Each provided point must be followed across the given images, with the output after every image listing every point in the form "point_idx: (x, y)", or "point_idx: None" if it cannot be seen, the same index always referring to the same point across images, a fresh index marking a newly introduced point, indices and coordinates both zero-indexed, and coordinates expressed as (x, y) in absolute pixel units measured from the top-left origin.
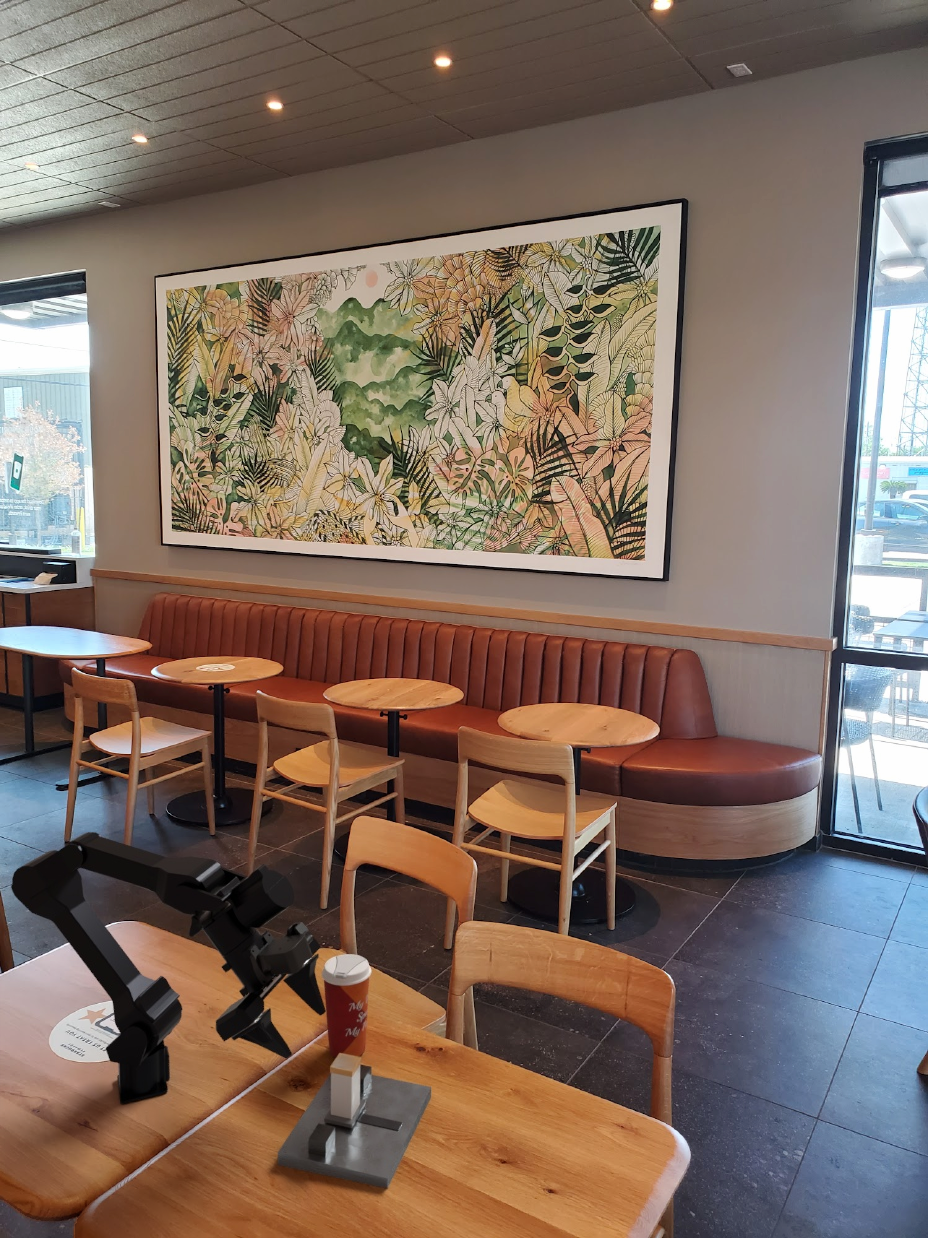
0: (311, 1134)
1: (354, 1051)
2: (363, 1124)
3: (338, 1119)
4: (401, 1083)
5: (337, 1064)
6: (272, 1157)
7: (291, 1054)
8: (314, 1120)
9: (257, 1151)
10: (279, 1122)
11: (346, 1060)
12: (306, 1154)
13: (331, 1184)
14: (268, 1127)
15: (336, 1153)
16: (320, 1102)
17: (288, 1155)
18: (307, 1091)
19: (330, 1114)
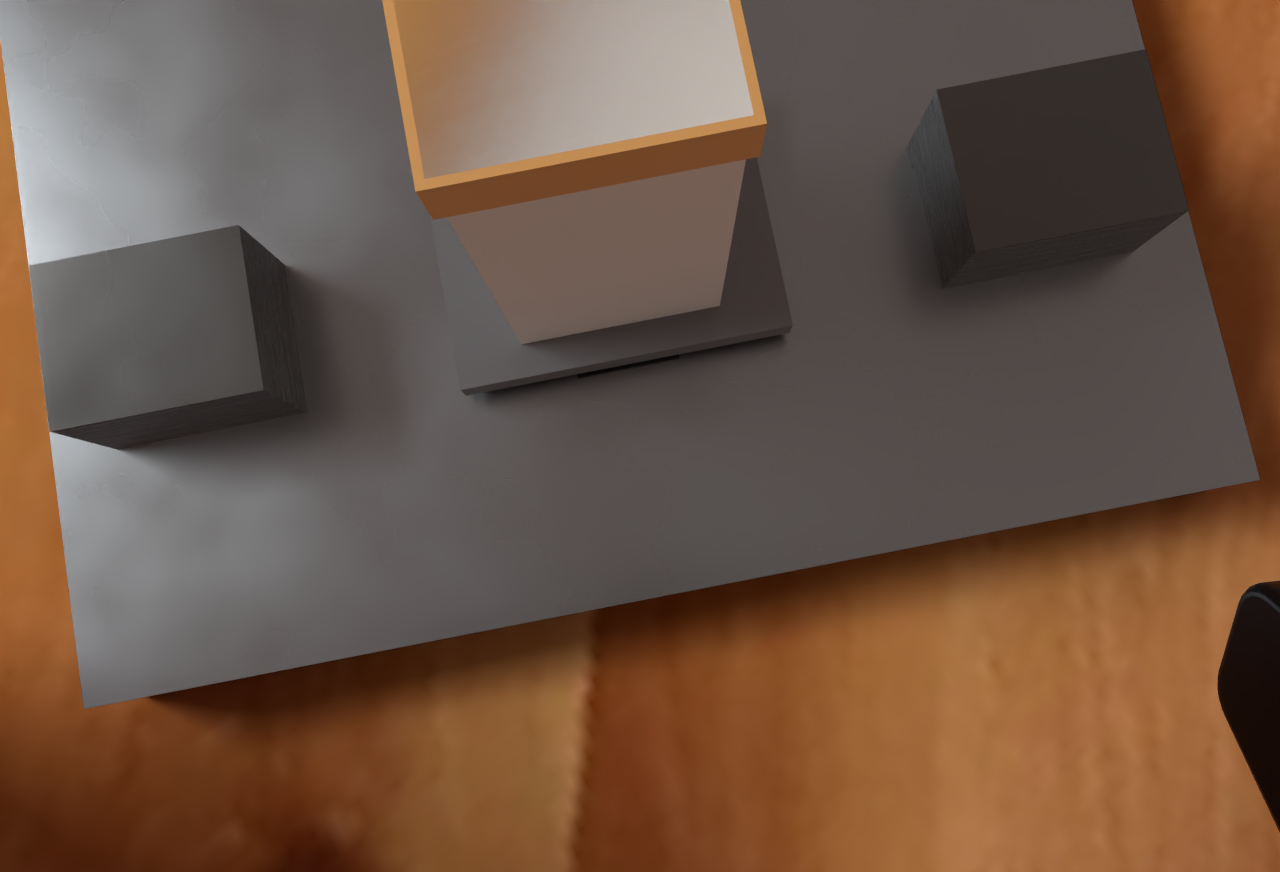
0: (1128, 219)
1: None
2: None
3: (739, 209)
4: (33, 40)
5: (662, 64)
6: (1160, 582)
7: (1275, 582)
8: (794, 436)
9: (1168, 735)
10: (809, 793)
11: (519, 5)
12: (1154, 255)
13: (1162, 23)
14: (902, 838)
15: (1018, 54)
16: (573, 529)
17: (1232, 384)
18: (374, 823)
19: (721, 307)
